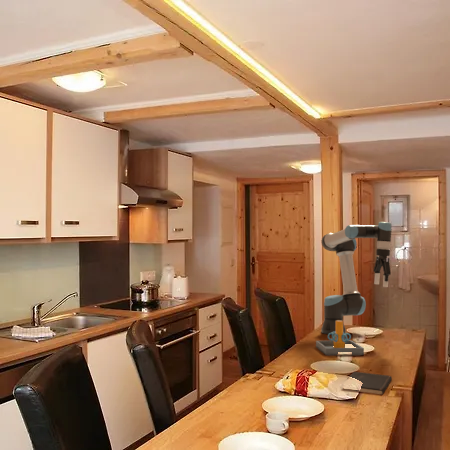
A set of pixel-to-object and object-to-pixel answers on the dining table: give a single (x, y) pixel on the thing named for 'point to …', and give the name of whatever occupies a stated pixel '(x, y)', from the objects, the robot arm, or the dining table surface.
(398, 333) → the dining table surface
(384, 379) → the hardcover book
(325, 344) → the tray
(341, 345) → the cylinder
